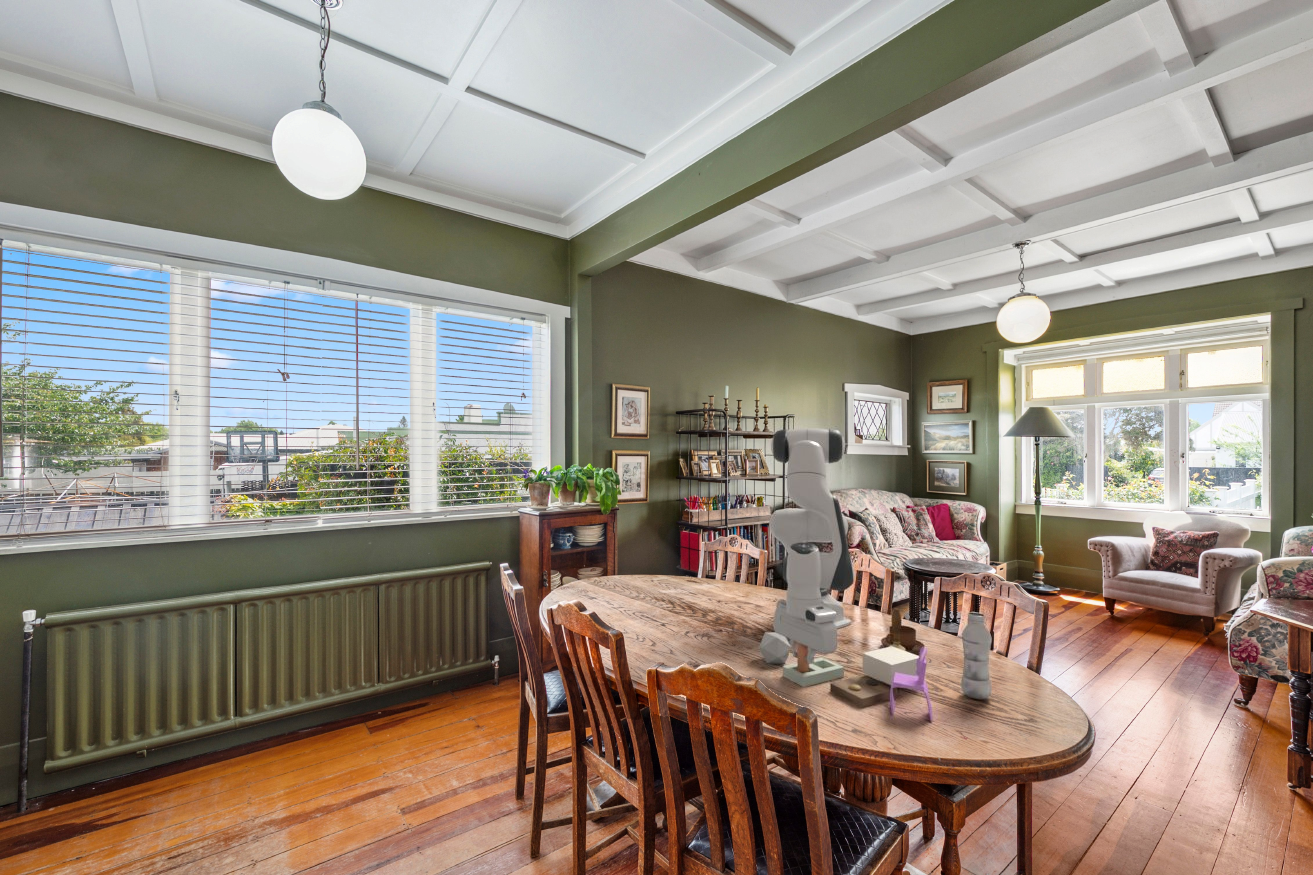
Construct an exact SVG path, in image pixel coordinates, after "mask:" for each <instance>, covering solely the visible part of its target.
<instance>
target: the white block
mask: <svg viewBox="0 0 1313 875" xmlns="http://www.w3.org/2000/svg"><path fill="white" fill-rule="evenodd" d="M918 658H919V655H917V654H916V653H909V652H906V651H904V650H901V649H898V648H896V647H893V646H891V647H887V648H886V647H884V648H879V649H875V650H870V651H865V652H862V674H863V675H864V674H865V675H867V676H869V677H872V678H874V679H876V680H879V681H881V682H883V683H885V684H888V685H890V686H891V685H892V680H893V678H894V676H895V672H896V673H902V674H906V675H912V676H918V674H917V673H916V671H917V666H916V663H917V660H918Z"/></svg>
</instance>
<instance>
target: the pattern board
mask: <svg viewBox="0 0 1313 875" xmlns="http://www.w3.org/2000/svg"><path fill="white" fill-rule="evenodd" d="M829 685H830V686H829V688H830V689H829V690H830V692H831V693H832V694H835V695H837V696H838V697H840V698H842V699H845V700H847V701H848V702H851V703H853V704H855V705H856V706H859V707H861V708H865V707H869V706H872V705H876V704H878V703H883V702H886V701H890V690H891V685H889V684H887V683H885V682H882V681H880V680H878V679H876V678H873V677H871V676H869V675H866V674H864V673H863V674H862V675H856V676H853V677H849V678H845V679H841V680H838V681H834V682H830V684H829ZM893 697H894V699H895V698H898V687H895V688H893Z"/></svg>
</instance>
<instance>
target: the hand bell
mask: <svg viewBox="0 0 1313 875" xmlns="http://www.w3.org/2000/svg"><path fill="white" fill-rule="evenodd" d="M890 619H891V626H892V627H893V631H894V636H893V638H894V639H893V645H890V646H889V647H891V646H893V647H896V648H898V649H901V650H904V651H906V649H905V648H904V647H902V646H901V645H900V629H901V625H902V616H901V611H900V608H897V607H895V608H893V611H892V614H891V618H890Z"/></svg>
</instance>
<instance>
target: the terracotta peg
mask: <svg viewBox="0 0 1313 875" xmlns="http://www.w3.org/2000/svg"><path fill="white" fill-rule="evenodd" d="M808 653H809V651H808V647H807V646H805V645H803V644H800V643H798V642H797V658H796V659H797V662H796V663H797V671H798V672H800V673H802V674H804V673H808V672H809V664H808V663H806V662H805V655H808Z"/></svg>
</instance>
